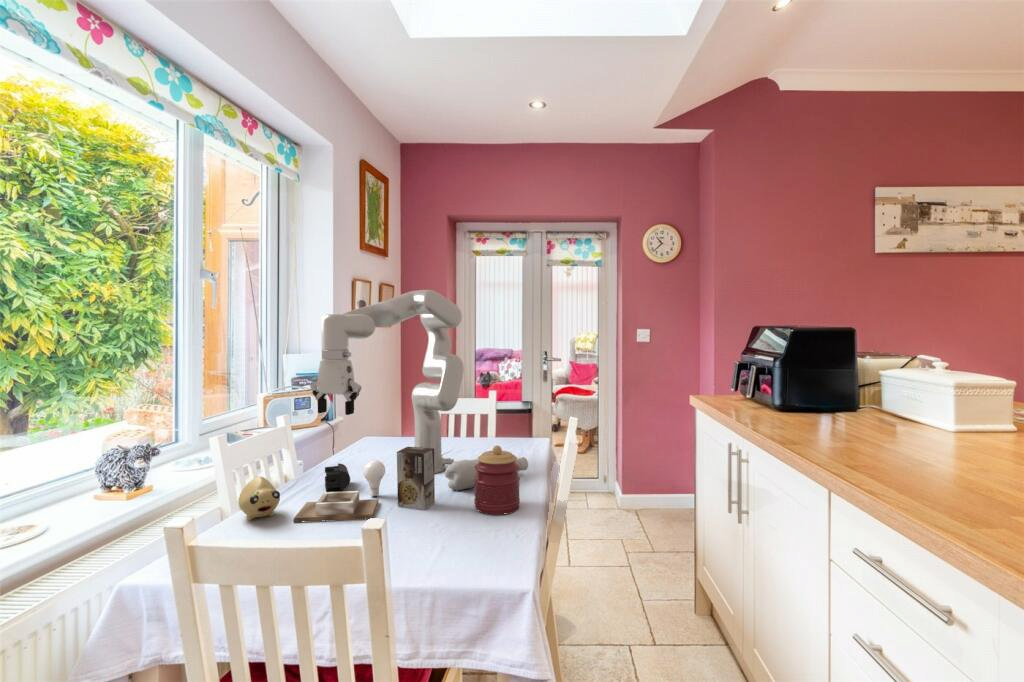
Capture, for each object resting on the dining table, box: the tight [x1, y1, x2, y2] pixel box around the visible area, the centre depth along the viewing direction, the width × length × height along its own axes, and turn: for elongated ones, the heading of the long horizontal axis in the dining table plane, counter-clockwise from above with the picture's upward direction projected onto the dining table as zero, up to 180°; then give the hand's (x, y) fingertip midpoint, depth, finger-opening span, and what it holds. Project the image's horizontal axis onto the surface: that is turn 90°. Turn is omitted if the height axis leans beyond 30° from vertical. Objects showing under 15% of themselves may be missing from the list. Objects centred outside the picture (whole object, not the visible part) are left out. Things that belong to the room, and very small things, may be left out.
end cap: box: [324, 463, 351, 492], centre depth 156 cm, size 10×7×7 cm
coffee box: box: [396, 446, 436, 511], centre depth 140 cm, size 9×6×16 cm
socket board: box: [293, 490, 380, 523], centre depth 135 cm, size 20×12×4 cm, turn 98°
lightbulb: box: [362, 459, 386, 498], centre depth 148 cm, size 6×6×11 cm
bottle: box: [444, 456, 529, 492], centre depth 162 cm, size 9×9×30 cm
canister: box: [473, 445, 521, 515], centre depth 138 cm, size 13×13×18 cm
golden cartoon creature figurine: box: [238, 476, 281, 521], centre depth 131 cm, size 10×12×11 cm
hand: (335, 413), depth 144 cm, fingers open, 9 cm apart
